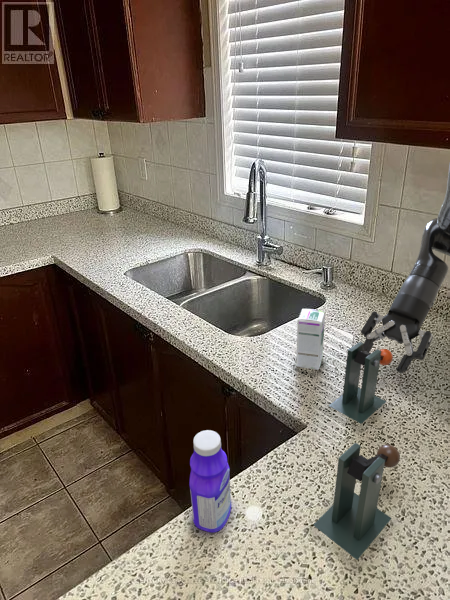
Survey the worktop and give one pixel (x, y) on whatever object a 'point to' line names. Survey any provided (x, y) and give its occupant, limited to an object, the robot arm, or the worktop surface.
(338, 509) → the bracket
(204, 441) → the bottle
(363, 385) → the bracket
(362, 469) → the rod
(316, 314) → the syrup box
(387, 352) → the rod
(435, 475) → the worktop surface
